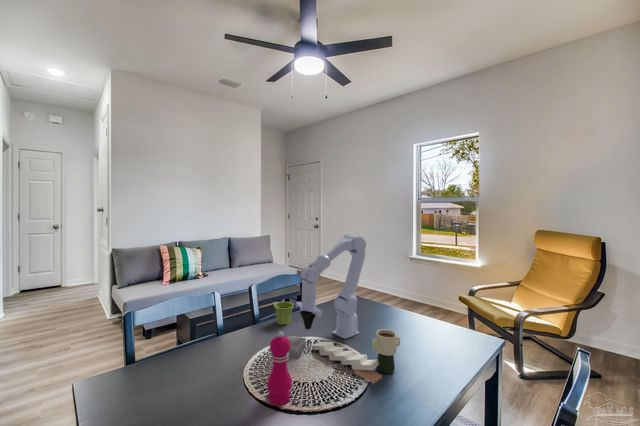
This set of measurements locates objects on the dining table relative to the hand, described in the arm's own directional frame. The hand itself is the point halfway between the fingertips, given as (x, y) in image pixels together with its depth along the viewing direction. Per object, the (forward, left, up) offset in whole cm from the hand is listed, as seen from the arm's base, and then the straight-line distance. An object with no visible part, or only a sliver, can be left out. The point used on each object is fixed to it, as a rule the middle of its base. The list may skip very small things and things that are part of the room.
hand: (308, 328), depth 123 cm
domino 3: (0, +15, -5) cm, 16 cm away
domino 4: (-1, +21, -5) cm, 21 cm away
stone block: (+9, 0, -6) cm, 11 cm away
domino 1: (0, +5, -5) cm, 7 cm away
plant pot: (-4, -23, -6) cm, 24 cm away
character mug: (-8, +33, -6) cm, 34 cm away
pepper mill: (+29, +22, -6) cm, 37 cm away
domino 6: (-1, +27, -6) cm, 28 cm away
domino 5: (-1, +25, -5) cm, 26 cm away
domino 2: (0, +10, -5) cm, 12 cm away
